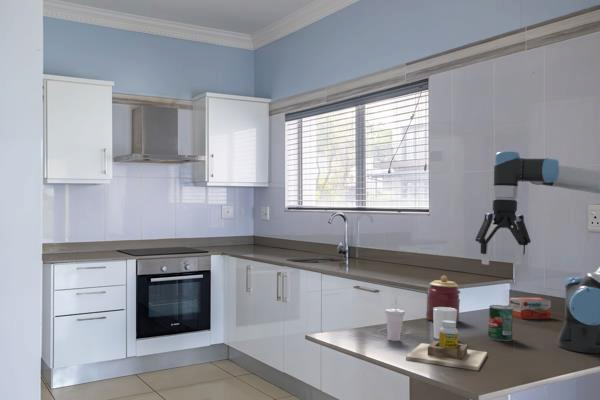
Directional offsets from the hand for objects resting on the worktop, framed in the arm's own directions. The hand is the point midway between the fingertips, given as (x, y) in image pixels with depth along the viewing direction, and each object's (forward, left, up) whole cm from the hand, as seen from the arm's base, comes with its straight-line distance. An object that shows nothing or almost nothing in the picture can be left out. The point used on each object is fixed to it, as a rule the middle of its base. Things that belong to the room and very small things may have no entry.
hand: (502, 264), depth 195 cm
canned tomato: (+1, -14, -27) cm, 30 cm away
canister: (+25, -37, -27) cm, 52 cm away
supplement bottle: (+12, +25, -26) cm, 38 cm away
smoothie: (+32, +11, -27) cm, 43 cm away
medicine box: (-6, -70, -27) cm, 75 cm away
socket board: (+12, +25, -27) cm, 38 cm away
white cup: (+18, -2, -27) cm, 32 cm away
